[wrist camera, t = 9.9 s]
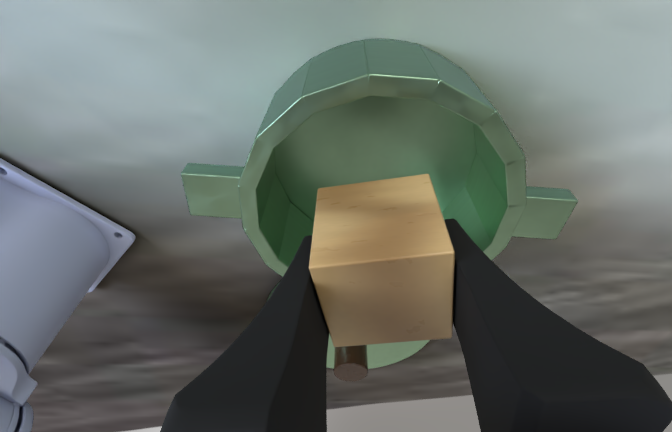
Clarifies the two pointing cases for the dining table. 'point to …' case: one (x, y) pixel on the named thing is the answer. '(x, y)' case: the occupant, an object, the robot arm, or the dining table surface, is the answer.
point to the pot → (378, 151)
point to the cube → (383, 262)
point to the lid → (366, 356)
